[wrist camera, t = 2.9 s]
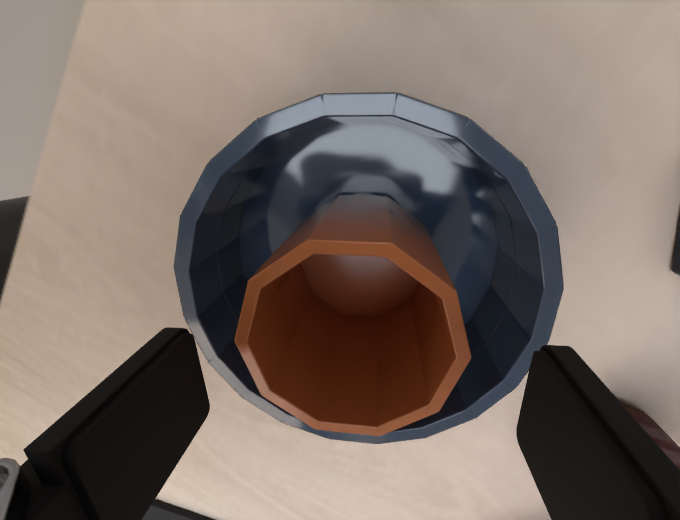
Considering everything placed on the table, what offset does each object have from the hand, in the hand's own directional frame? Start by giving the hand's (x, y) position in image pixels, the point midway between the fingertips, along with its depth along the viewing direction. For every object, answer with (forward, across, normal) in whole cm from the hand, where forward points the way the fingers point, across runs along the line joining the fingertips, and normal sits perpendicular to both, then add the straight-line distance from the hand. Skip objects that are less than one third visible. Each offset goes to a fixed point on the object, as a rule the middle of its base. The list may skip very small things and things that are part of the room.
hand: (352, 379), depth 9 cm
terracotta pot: (+9, 0, 0) cm, 9 cm away
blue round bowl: (+10, 0, 0) cm, 10 cm away
